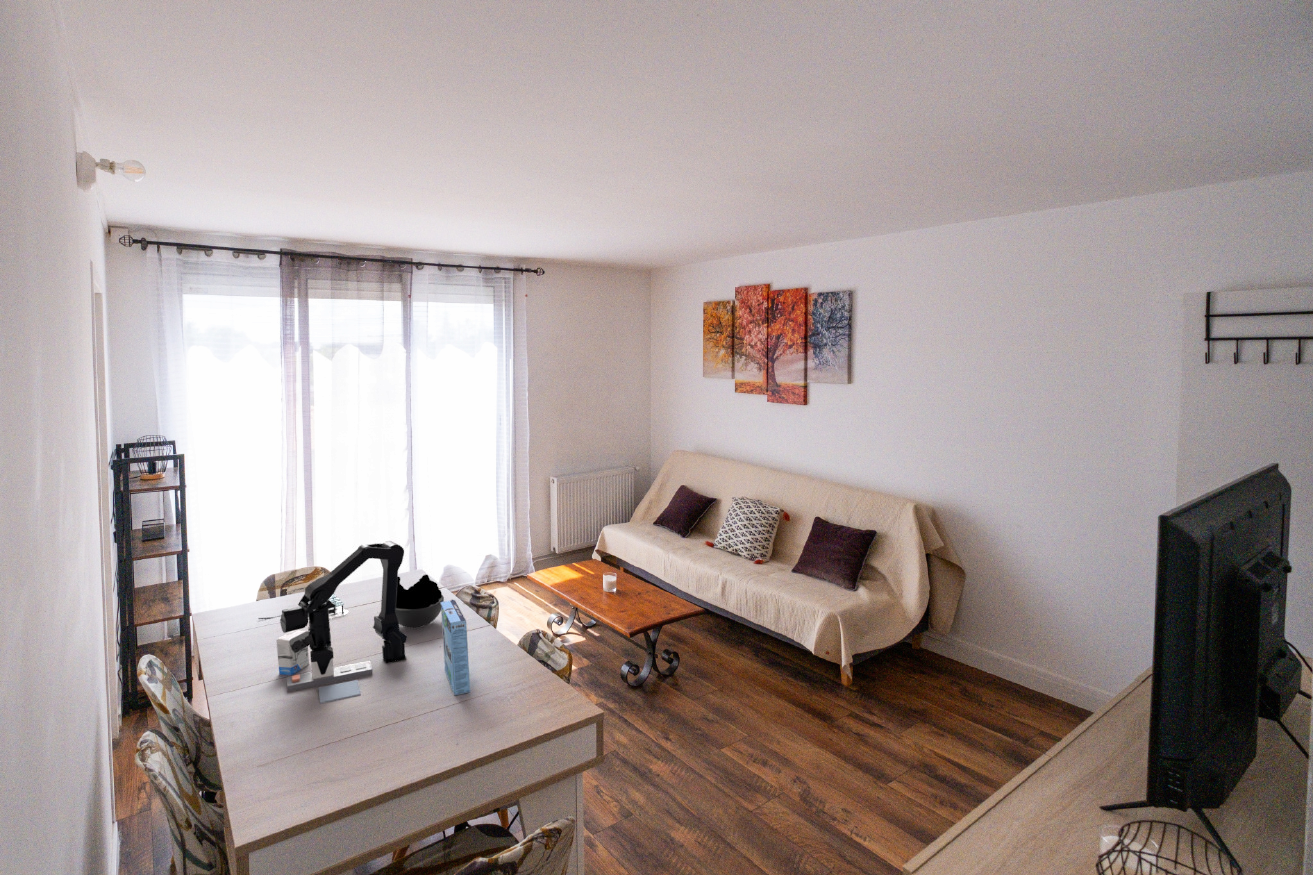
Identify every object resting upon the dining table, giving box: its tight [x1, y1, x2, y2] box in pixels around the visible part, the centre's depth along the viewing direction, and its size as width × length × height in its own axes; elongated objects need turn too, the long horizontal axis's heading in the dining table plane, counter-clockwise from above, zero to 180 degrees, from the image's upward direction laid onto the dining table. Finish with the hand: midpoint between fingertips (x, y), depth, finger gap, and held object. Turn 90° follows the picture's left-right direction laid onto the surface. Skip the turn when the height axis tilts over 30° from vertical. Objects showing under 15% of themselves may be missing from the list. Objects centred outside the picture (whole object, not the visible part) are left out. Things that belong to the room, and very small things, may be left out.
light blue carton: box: [440, 599, 471, 696], centre depth 219 cm, size 20×5×23 cm, turn 25°
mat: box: [318, 679, 361, 705], centre depth 213 cm, size 11×10×1 cm
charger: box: [310, 658, 334, 679], centre depth 220 cm, size 6×4×10 cm
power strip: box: [286, 660, 373, 693], centre depth 222 cm, size 24×7×3 cm, turn 117°
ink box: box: [276, 629, 310, 676], centre depth 228 cm, size 9×5×12 cm, turn 168°
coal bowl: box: [396, 574, 445, 629], centre depth 262 cm, size 20×20×19 cm
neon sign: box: [258, 593, 349, 623], centre depth 274 cm, size 21×4×29 cm
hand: (322, 671), depth 220 cm, fingers closed on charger, 4 cm apart
